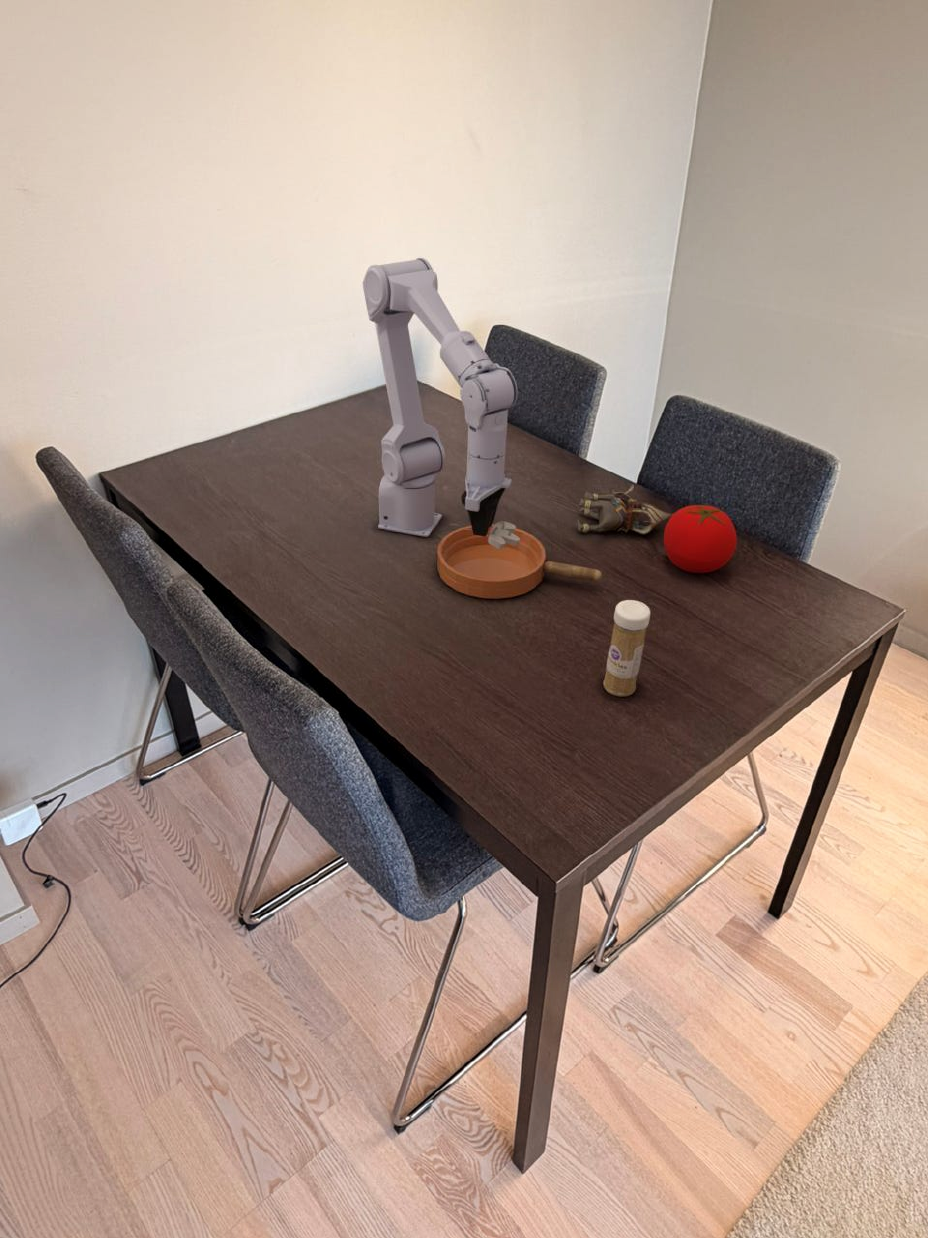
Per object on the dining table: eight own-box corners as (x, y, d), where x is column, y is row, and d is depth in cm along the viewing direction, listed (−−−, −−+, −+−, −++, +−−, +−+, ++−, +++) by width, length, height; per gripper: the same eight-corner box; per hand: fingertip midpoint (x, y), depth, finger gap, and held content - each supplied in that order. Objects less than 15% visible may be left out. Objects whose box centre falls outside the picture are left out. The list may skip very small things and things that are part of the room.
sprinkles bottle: (596, 688, 120) (608, 609, 113) (614, 672, 123) (627, 594, 115) (625, 703, 118) (639, 623, 110) (642, 686, 121) (657, 607, 113)
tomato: (673, 586, 142) (685, 530, 135) (649, 547, 151) (659, 493, 145) (739, 582, 143) (753, 526, 137) (711, 543, 153) (723, 490, 147)
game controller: (518, 553, 136) (519, 539, 134) (445, 547, 136) (445, 534, 135) (520, 531, 140) (521, 518, 138) (449, 526, 141) (449, 513, 139)
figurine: (586, 469, 163) (677, 481, 161) (582, 499, 166) (671, 510, 164) (576, 514, 147) (678, 527, 144) (572, 546, 150) (671, 560, 147)
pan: (422, 588, 139) (422, 569, 137) (455, 534, 153) (456, 516, 151) (529, 609, 135) (531, 589, 133) (553, 552, 149) (555, 534, 147)
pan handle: (541, 574, 140) (542, 563, 139) (544, 568, 142) (545, 557, 141) (600, 585, 138) (601, 574, 137) (602, 578, 140) (603, 568, 139)
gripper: (499, 476, 123) (495, 557, 131) (523, 435, 135) (518, 512, 143) (452, 468, 125) (450, 549, 133) (479, 429, 136) (476, 505, 144)
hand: (482, 530), depth 138 cm, fingers closed on game controller, 2 cm apart
